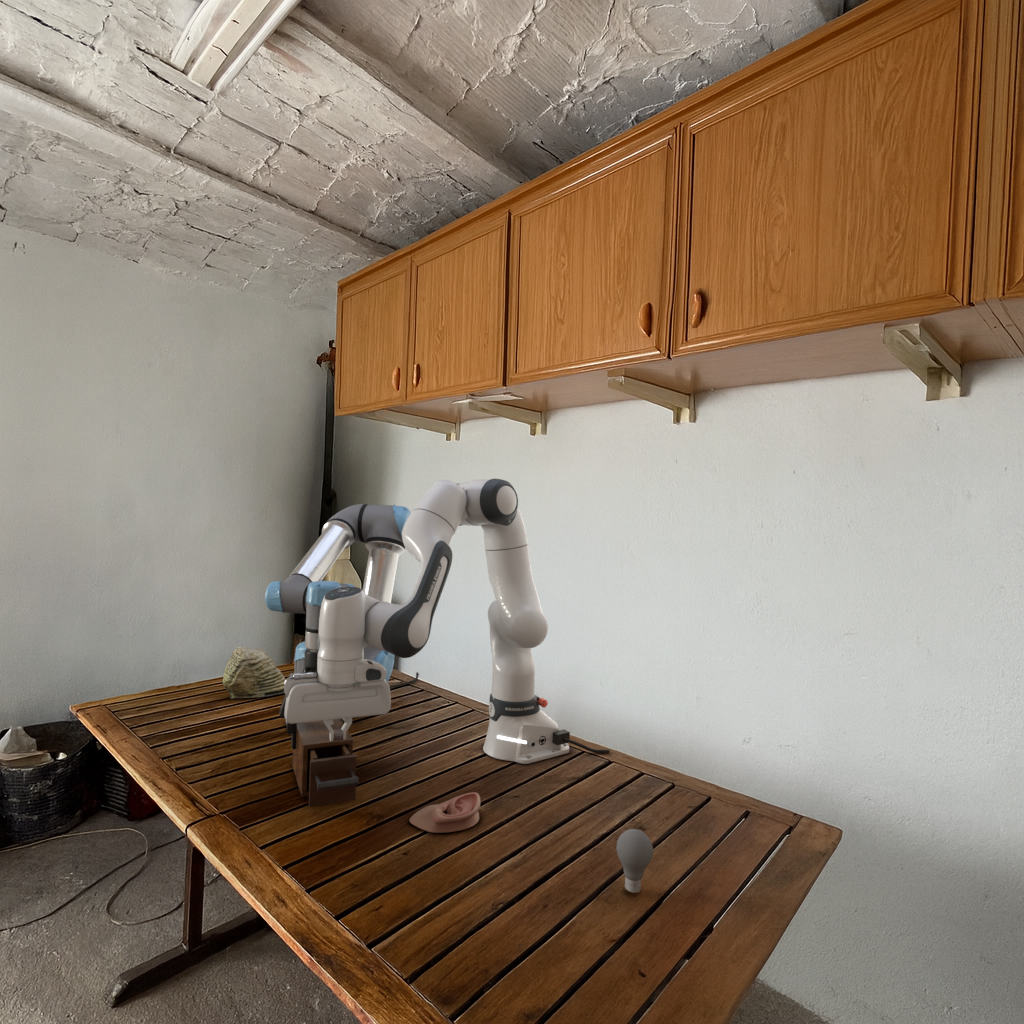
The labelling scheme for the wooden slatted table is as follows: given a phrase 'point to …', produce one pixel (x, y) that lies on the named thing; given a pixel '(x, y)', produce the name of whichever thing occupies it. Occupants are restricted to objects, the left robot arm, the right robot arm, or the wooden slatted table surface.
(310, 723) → the brown box
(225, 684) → the fossil
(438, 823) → the anatomical model
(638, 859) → the light bulb
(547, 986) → the wooden slatted table surface
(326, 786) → the drawer
